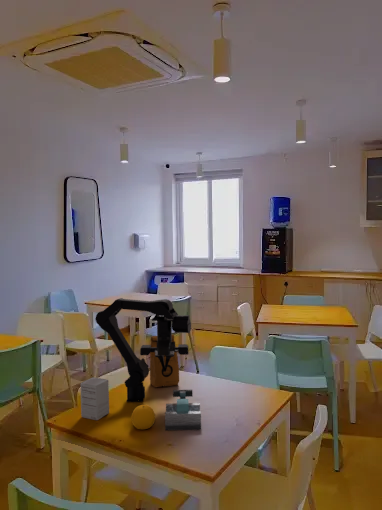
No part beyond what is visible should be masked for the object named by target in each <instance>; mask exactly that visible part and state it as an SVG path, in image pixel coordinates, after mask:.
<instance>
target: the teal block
mask: <svg viewBox="0 0 382 510" xmlns="http://www.w3.org/2000/svg"><path fill="white" fill-rule="evenodd" d="M176 403H177V412H185V411H189V403H190V402H189V398H186V399H180V398H176Z"/></svg>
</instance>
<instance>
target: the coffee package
mask: <svg viewBox="0 0 382 510" xmlns="http://www.w3.org/2000/svg"><path fill="white" fill-rule="evenodd" d="M172 342H175V343H176V341H175V334H172ZM150 345H151V347H157V335H155V336H150ZM175 347H177V346H176V345H175ZM163 356H164V364H165V362H166V355H163ZM149 359H150V360H149V382H150V384H151V385H152V387H154V388H159V387H161V388H162V386H163V387H171V386H178V385H179V383H180V366H179V357H178V352H174V357H171V358H170V360H169V363H168V366H167V369H166V372H164V371H163V368H162V365H161V362H160V360H159V358H158V357H155V352H150V354H149Z"/></svg>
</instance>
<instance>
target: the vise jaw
mask: <svg viewBox="0 0 382 510" xmlns="http://www.w3.org/2000/svg"><path fill="white" fill-rule="evenodd" d="M193 393H194V392H193V389H173V390H172V397H173V398H179V399H187V398H189V397H190V398H191V397H193V396H194V394H193ZM188 403H189V411H201V403H200V402H188ZM165 412H177V402H176V403H174V402H173V403H166V404H165Z"/></svg>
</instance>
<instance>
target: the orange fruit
mask: <svg viewBox="0 0 382 510" xmlns="http://www.w3.org/2000/svg"><path fill="white" fill-rule="evenodd" d="M130 417H131V422H132V425H133V426H134V427H135V428H136V429H138V430H147V429H150V428H151V427H152V426H154V423H155V422H156V421H155V420H156V414H155V411H154V409H153V408H152V407H151V406H150V405H148V404H141V405H138V406H136V407H135V408H134V410H133V411H132V412H131V416H130Z"/></svg>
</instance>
